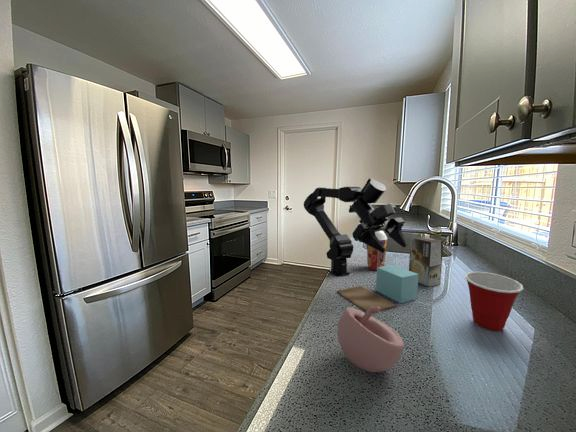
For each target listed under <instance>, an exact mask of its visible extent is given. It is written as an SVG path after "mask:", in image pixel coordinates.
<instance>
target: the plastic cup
mask: <svg viewBox="0 0 576 432" xmlns="http://www.w3.org/2000/svg"><path fill="white" fill-rule="evenodd" d="M464 278H465V279H466V282H467V286H468V290H469V300H470V308H471V313H472V320H473V323H474V324H475V325H476V326H479V327H481V328H482V329H484V330H489V331H491V332H492V331H493V332H494V331H495V332H501V331H503V330H504V328H505V326H506V324H507V321H508V319H509V317H510V315H511V311H512V308H513V306H514V304H515V302H516V299H517V297H518V295H519V293H521V292H522V291H523V290H524V286H523V284H522V283H520V282H519V281H518V280H515V279H513V278H510V277H508V276H505V275H501V274H498V273H493V272H492V273H491V272H487V271H469V272H467V273H465V276H464Z"/></svg>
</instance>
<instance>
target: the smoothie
mask: <svg viewBox="0 0 576 432" xmlns="http://www.w3.org/2000/svg"><path fill="white" fill-rule="evenodd" d="M375 235H376V237H377V238H378V240H379V241H380V243H381V244H382V246H383V247H384V249H385V252H384V253H382V252H380V251H378V250H377V249H375V248H373V247H371V246H369V245H367V244H366V250H367V252H366V253H367V254H366V255H367V261H366V262H367V266H368V269H369V268H370V269H369V270H371V269H372V271H376V270H377V267H382V266H385V263H386V253H387V244H388V236H387V235H386V232H385V231H384V230H383V231H378V232H375Z"/></svg>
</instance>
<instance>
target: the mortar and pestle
mask: <svg viewBox="0 0 576 432" xmlns="http://www.w3.org/2000/svg"><path fill="white" fill-rule="evenodd" d="M380 310H381V308H380V307H373V306H371V307H370V308H369V309H368V310H367V312H366V311H362V310H360V309H357V308H354V307H349V306H348V307H346V308H345V309H344V311H343V312H342V314H341V316H340V318H339V319H338V324H337V339H338V343H339V346H340V348H341V350H342V352H343V354H344V356H345V357H346V358H347V359H348V360H349V361H350V362H351V364H353V365H354V366H356V367H357V368H359V369H361V370H364V371H367V372H370V373H381V372H386V371H387V370H391V369H392V368H393V367H394V366H395V365H396V364H398V362H399V360H400V359H401V357H402V355H403V353H404V350H405V349H404V348H405V343H404V340H403V338H402V336H400V334H399V333H398V332H397V331H396V330H395V329H394V328H393V327H391V326H389V325H388V324H386V323H384V322H383V321H380V320H379V319H378V318H375V317H374V316H373V315H374V314H375V313H380V312H381V311H380Z"/></svg>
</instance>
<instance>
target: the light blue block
mask: <svg viewBox="0 0 576 432" xmlns="http://www.w3.org/2000/svg"><path fill="white" fill-rule="evenodd" d="M418 276H419V274H417V273H414V272H411V271H409V269H405V268H403V267H399V266H397V265H395V264H389V265H384V266H382V267H377V271H376V277H375V278H376V281H375V291H377V292H378V293H380V294H381V295H382V294H383V295H384V296H386V297H388V298H390V299H391V300H393V301H396V302H398V303H399V304H403V303H406V302H411V301H414V300H417V299H418V288H419V282H418Z"/></svg>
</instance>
